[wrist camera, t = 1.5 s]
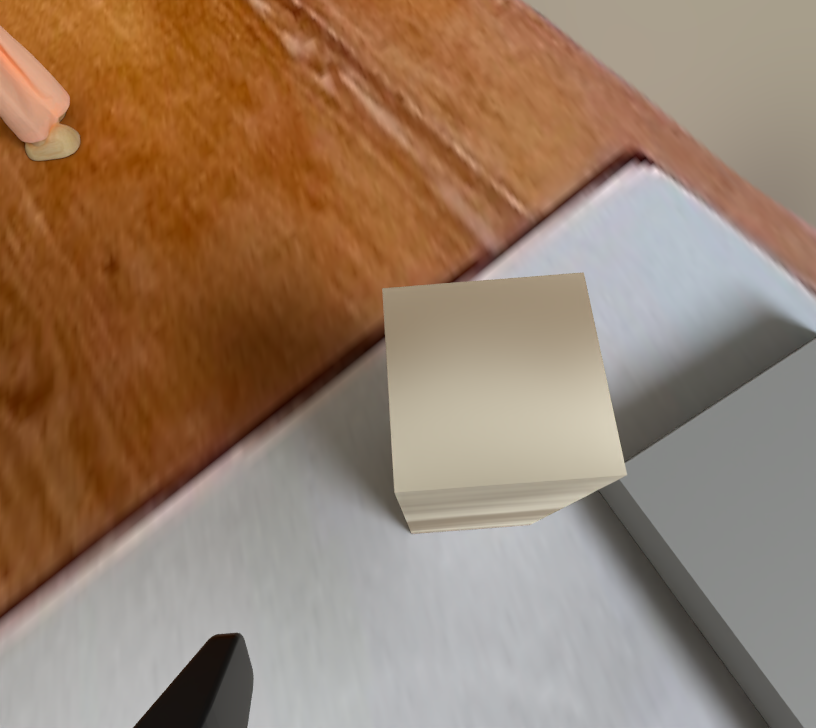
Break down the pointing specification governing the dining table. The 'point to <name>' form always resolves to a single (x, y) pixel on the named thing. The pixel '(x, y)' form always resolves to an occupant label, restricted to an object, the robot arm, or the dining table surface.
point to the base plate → (740, 531)
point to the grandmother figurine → (33, 103)
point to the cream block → (496, 401)
